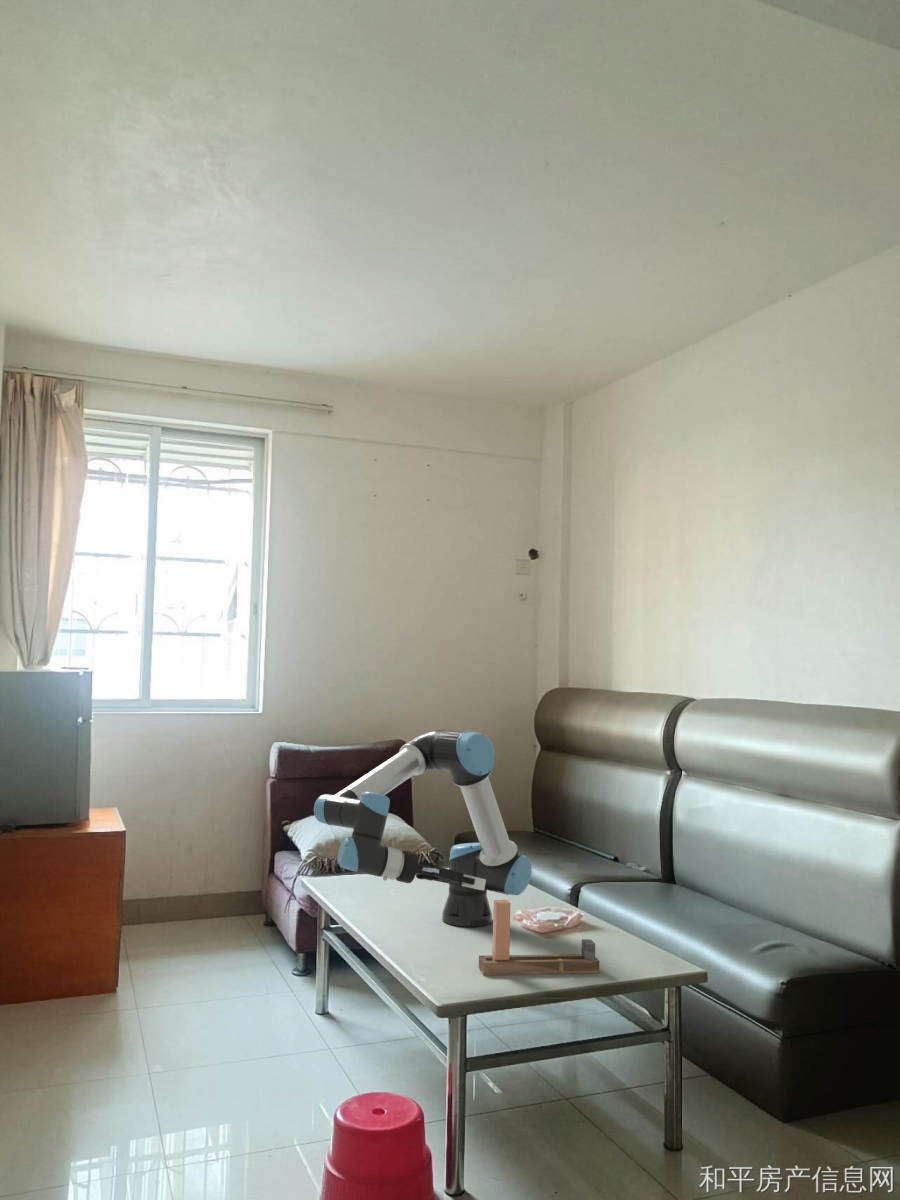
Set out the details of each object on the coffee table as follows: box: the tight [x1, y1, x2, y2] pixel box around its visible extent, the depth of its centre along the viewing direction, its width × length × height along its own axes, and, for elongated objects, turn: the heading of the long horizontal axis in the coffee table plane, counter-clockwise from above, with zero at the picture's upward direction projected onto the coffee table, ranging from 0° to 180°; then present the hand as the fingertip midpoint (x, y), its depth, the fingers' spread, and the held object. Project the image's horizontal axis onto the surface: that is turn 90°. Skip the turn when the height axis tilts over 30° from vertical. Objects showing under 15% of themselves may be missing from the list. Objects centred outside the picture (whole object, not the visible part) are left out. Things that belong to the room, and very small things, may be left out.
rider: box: [491, 899, 511, 961], centre depth 235 cm, size 4×4×16 cm
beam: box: [478, 938, 600, 976], centre depth 236 cm, size 6×30×7 cm, turn 99°
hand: (483, 884), depth 238 cm, fingers closed
